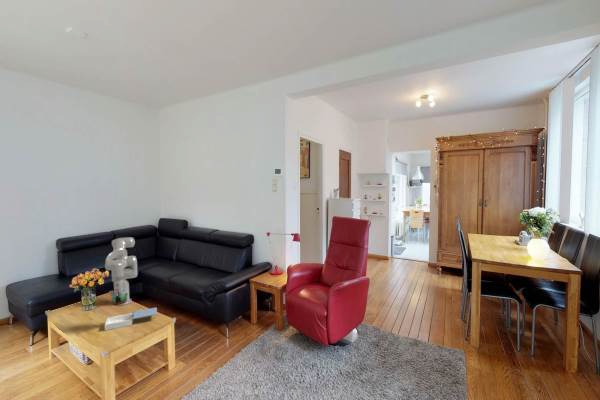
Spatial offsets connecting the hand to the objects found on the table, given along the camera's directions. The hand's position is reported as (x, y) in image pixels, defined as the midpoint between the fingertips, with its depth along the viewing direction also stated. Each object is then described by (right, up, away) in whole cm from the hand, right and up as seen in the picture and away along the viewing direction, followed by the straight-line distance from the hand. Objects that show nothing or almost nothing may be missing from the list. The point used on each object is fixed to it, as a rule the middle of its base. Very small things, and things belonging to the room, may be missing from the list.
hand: (118, 300), depth 212 cm
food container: (0, -3, 0) cm, 3 cm away
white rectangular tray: (0, -19, +1) cm, 19 cm away
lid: (+15, -14, +9) cm, 22 cm away
